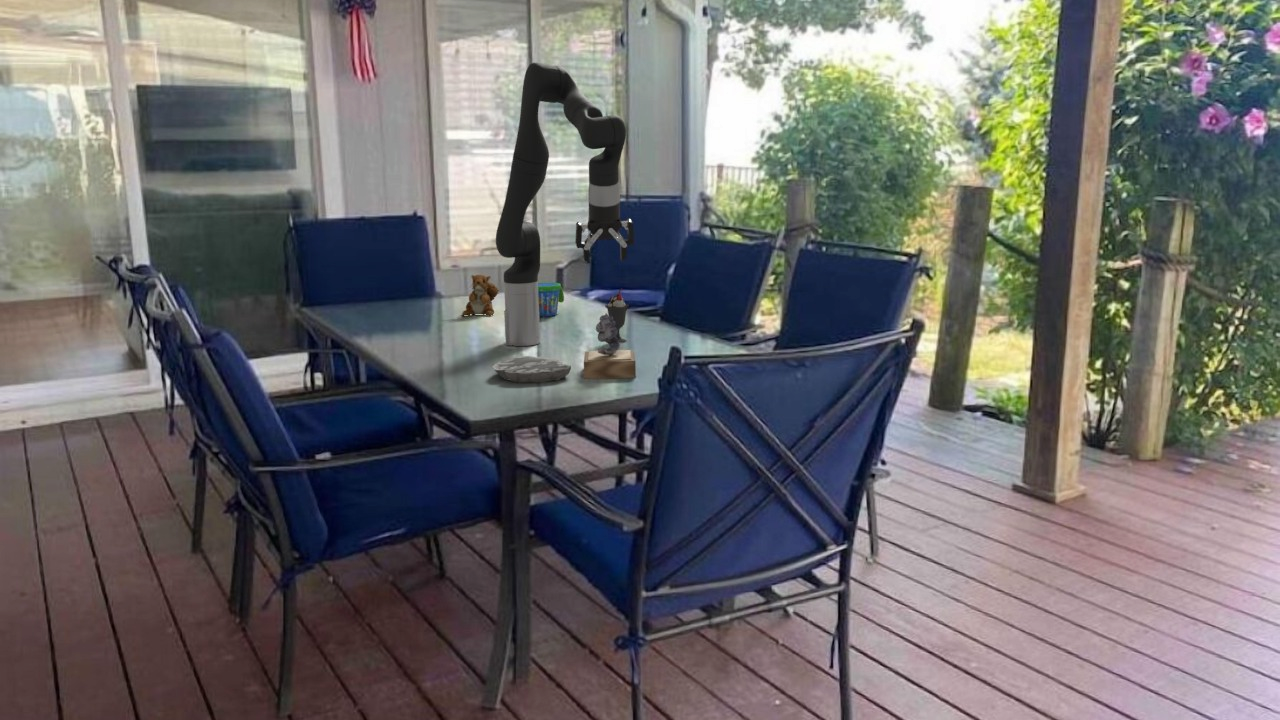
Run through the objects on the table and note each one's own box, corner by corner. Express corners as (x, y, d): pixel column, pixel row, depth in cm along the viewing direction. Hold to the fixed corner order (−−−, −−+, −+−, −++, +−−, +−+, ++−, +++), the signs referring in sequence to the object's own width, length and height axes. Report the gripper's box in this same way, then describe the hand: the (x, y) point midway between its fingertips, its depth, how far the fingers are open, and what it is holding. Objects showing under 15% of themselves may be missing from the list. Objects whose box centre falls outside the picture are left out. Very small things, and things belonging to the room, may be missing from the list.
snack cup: (553, 310, 322) (552, 280, 319) (574, 314, 314) (573, 283, 312) (516, 316, 311) (514, 285, 309) (536, 320, 304) (535, 288, 301)
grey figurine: (603, 358, 227) (602, 316, 225) (593, 354, 231) (592, 312, 229) (623, 355, 229) (622, 313, 227) (613, 351, 234) (612, 310, 232)
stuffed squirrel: (460, 317, 312) (458, 276, 309) (473, 310, 326) (471, 271, 323) (490, 317, 311) (488, 276, 308) (502, 310, 324) (500, 271, 322)
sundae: (627, 343, 265) (626, 289, 261) (603, 343, 266) (601, 289, 263) (632, 339, 271) (631, 286, 268) (608, 338, 272) (607, 285, 269)
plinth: (584, 378, 225) (583, 360, 224) (585, 367, 237) (585, 350, 236) (635, 377, 225) (635, 359, 224) (634, 366, 237) (634, 349, 236)
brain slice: (475, 377, 230) (475, 365, 229) (532, 365, 241) (531, 353, 241) (526, 390, 216) (526, 377, 215) (584, 377, 228) (583, 365, 227)
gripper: (631, 192, 236) (631, 253, 244) (572, 195, 234) (574, 256, 242) (636, 203, 230) (635, 265, 238) (576, 206, 227) (578, 269, 236)
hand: (605, 261), depth 240 cm, fingers open, 8 cm apart
